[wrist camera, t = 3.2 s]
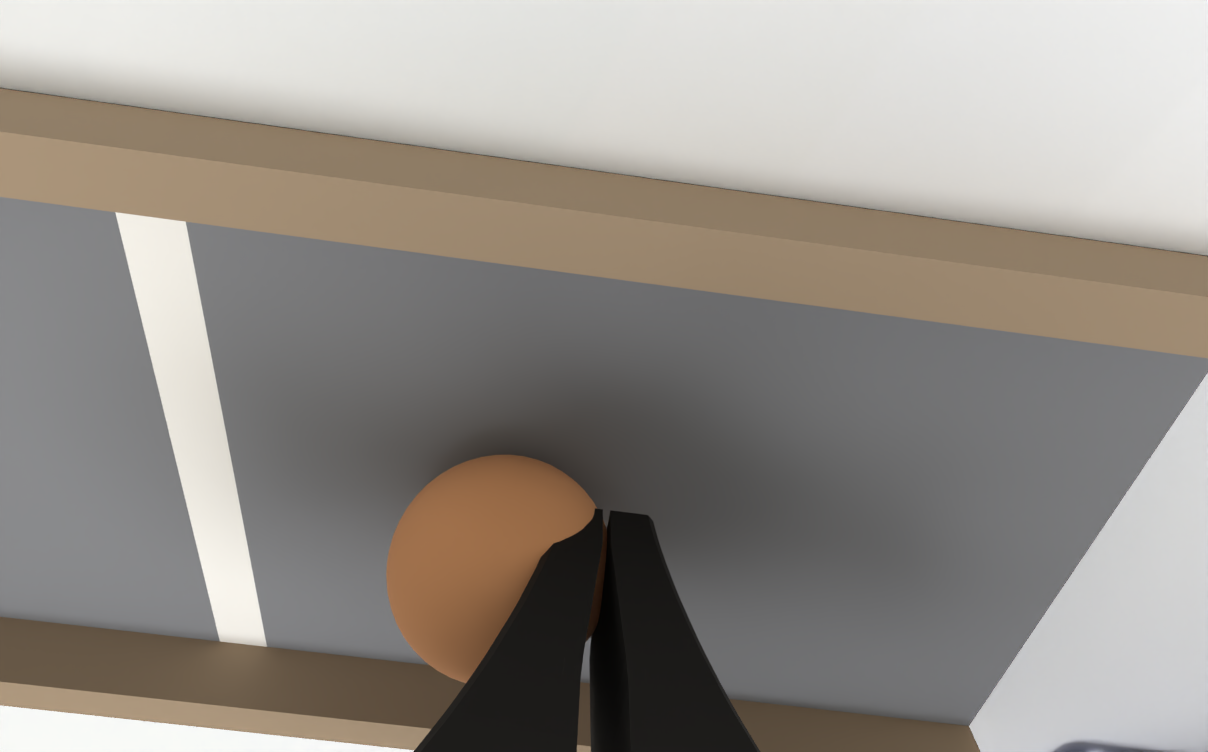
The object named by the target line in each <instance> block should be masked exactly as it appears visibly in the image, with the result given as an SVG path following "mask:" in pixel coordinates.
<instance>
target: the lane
mask: <svg viewBox="0 0 1208 752" xmlns="http://www.w3.org/2000/svg"><path fill="white" fill-rule="evenodd" d="M1207 373H1208V256H1202V255H1195V254H1188V253H1181V252H1173V251H1166V250H1159V249H1152V248H1145V247H1137V246H1130V245H1123V244H1116V243H1109V242H1102V241H1094V240H1087V239H1080V238H1073V237H1066V236H1058V235H1051V234H1044V233H1037V232H1030V231H1022V230H1015V229H1008V228H1001V227H994V226H986V225H979V224H972V223H965V222H958V221H951V220H943V219H936V218H929V217H922V216H915V215H907V214H900V213H893V212H886V211H879V210H871V209H864V208H857V207H850V206H843V205H836V204H828V203H821V202H814V201H807V200H800V199H792V198H785V197H778V196H771V195H764V194H756V193H749V192H742V191H735V190H728V189H721V188H713V187H706V186H699V185H692V184H685V183H677V182H670V181H663V180H656V179H649V178H641V177H634V176H627V175H620V174H613V173H606V172H598V171H591V170H584V169H577V168H570V167H562V166H555V165H548V164H541V163H534V162H526V161H519V160H512V159H505V158H498V157H491V156H483V155H476V154H469V153H462V152H455V151H447V150H440V149H433V148H426V147H419V146H411V145H404V144H397V143H390V142H383V141H375V140H368V139H361V138H354V137H347V136H340V135H332V134H325V133H318V132H311V131H304V130H296V129H289V128H282V127H275V126H268V125H260V124H253V123H246V122H239V121H232V120H225V119H217V118H210V117H203V116H196V115H189V114H181V113H174V112H167V111H160V110H153V109H145V108H138V107H131V106H124V105H117V104H110V103H102V102H95V101H88V100H81V99H74V98H66V97H59V96H52V95H45V94H38V93H30V92H23V91H16V90H9V89H2V88H0V705H3V706H12V707H21V708H31V709H40V710H49V711H58V712H68V713H77V714H86V715H95V716H104V717H114V718H123V719H132V720H141V721H151V722H160V723H169V724H178V725H187V726H197V727H206V728H215V729H224V730H234V731H243V732H252V733H261V734H270V735H280V736H289V737H298V738H307V739H317V740H326V741H335V742H344V743H354V744H363V745H372V746H381V747H390V748H400V749H409V750H415V749H416V748H417V747H418V745H419V744H420V743H421V742H422V740H423V739H424V738H425V737H426V735H427V734H428V733H429V732H430V730H431V729H432V728H433V726H434V725H435V724H436V723H437V721H438V720H439V719H440V718H441V716H442V715H443V714H444V713H445V711H446V710H447V709H448V707H449V706H450V705H451V703H452V702H453V700H454V699H455V698H456V696H457V695H458V694H459V692H460V691H461V690H462V688H463V687H464V685H465V684H466V683H463V682H461V681H458V680H455V679H452V678H450V677H448V676H446V675H444V674H443V673H441V672H439V671H437V670H436V669H434V668H433V667H432V666H430V665H429V664H428V663H426V662H425V661H424V660H423V659H422V658H421V657H420V656H419V655H418V654H417V653H416V652H415V651H414V650H413V649H412V647H411V646H410V645H409V643H408V642H407V641H406V639H405V638H404V637H403V635H402V633H401V631H400V629H399V627H398V626H397V624H396V621H395V618H394V616H393V613H392V610H391V607H390V602H389V597H388V593H387V579H386V569H387V559H388V553H389V549H390V545H391V541H392V538H393V535H394V532H395V530H396V528H397V525H398V523H399V521H400V519H401V517H402V516H403V514H404V512H405V511H406V509H407V507H408V506H409V504H410V503H411V502H412V501H413V499H414V498H415V497H416V496H417V494H418V493H419V492H420V491H421V490H422V489H423V488H424V487H425V486H426V485H427V484H428V483H430V482H431V481H432V480H434V479H435V478H436V477H437V476H439V475H440V474H442V473H443V472H445V471H447V470H449V469H450V468H452V467H454V466H456V465H459V464H461V463H463V462H466V461H469V460H472V459H476V458H479V457H484V456H491V455H517V456H525V457H529V458H533V459H537V460H540V461H542V462H545V463H547V464H550V465H552V466H553V467H555V468H557V469H559V470H561V471H562V472H564V473H565V474H566V475H568V476H569V477H570V478H572V479H573V480H574V481H576V482H577V483H578V484H579V485H580V486H581V487H582V488H583V489H584V490H585V491H586V493H587V494H588V495H589V497H590V498H591V499H592V500H593V502H594V503H595V505H596V507H597V509H603V521H604V523H605V526H606V528H607V526H608V521H609V515H610V510H612V511H620V512H628V513H636V514H644V515H648V516H649V517H650V518H651V519H652V520H653V522H654V526H655V530H656V533H657V537H658V540H659V543H660V546H661V550H662V553H663V555H664V558H665V561H666V564H667V567H668V569H669V572H670V574H671V577H672V580H673V582H674V585H675V587H676V590H677V592H678V595H679V597H680V600H681V602H682V604H683V606H684V609H685V611H686V613H687V615H688V618H689V620H690V622H691V624H692V626H693V629H694V631H695V633H696V635H697V638H698V640H699V642H700V644H701V646H702V648H703V650H704V652H705V654H706V656H707V658H708V660H709V662H710V664H711V666H712V668H713V670H714V672H715V673H716V675H717V677H718V679H719V681H720V683H721V685H722V687H723V689H724V690H725V692H726V694H727V696H728V698H729V700H730V701H731V703H732V705H733V707H734V708H735V710H736V712H737V714H738V715H739V717H740V719H741V721H742V722H743V724H744V726H745V727H746V729H747V730H748V732H749V734H750V735H751V737H752V739H753V740H754V742H755V744H756V745H757V747H758V749H759V750H760V752H980V750H979V748H978V745H977V743H976V741H975V739H974V737H973V734H972V732H971V730H970V728H969V725H970V723H971V722H972V720H973V719H974V717H975V716H976V714H977V713H978V711H979V710H980V709H981V707H982V706H983V704H984V703H985V701H986V700H987V698H988V697H989V695H990V694H991V692H992V691H993V689H994V688H995V686H996V685H997V683H998V682H999V680H1000V679H1001V677H1002V676H1003V674H1004V673H1005V672H1006V670H1007V669H1008V667H1009V666H1010V664H1011V663H1012V661H1013V660H1014V658H1015V657H1016V655H1017V654H1018V652H1019V651H1020V649H1021V648H1022V646H1023V645H1024V643H1025V642H1026V640H1027V639H1028V637H1029V636H1030V635H1031V633H1032V632H1033V630H1034V629H1035V627H1036V626H1037V624H1038V623H1039V621H1040V620H1041V618H1042V617H1043V615H1044V614H1045V612H1046V611H1047V609H1048V608H1049V606H1050V605H1051V603H1052V602H1053V600H1054V599H1055V598H1056V596H1057V595H1058V593H1059V592H1060V590H1061V589H1062V587H1063V586H1064V584H1065V583H1066V581H1067V580H1068V578H1069V577H1070V575H1071V574H1072V572H1073V571H1074V569H1075V568H1076V566H1077V565H1078V563H1079V562H1080V561H1081V559H1082V558H1083V556H1084V555H1085V553H1086V552H1087V550H1088V549H1089V547H1090V546H1091V544H1092V543H1093V541H1094V540H1095V538H1096V537H1097V535H1098V534H1099V532H1100V531H1101V529H1102V528H1103V526H1104V525H1105V523H1106V522H1107V521H1108V519H1109V518H1110V516H1111V515H1112V513H1113V512H1114V510H1115V509H1116V507H1117V506H1118V504H1119V503H1120V501H1121V500H1122V498H1123V497H1124V495H1125V494H1126V492H1127V491H1128V489H1129V488H1130V486H1131V485H1132V484H1133V482H1134V481H1135V479H1136V478H1137V476H1138V475H1139V473H1140V472H1141V470H1142V469H1143V467H1144V466H1145V464H1146V463H1147V461H1148V460H1149V458H1150V457H1151V455H1152V454H1153V452H1154V451H1155V449H1156V448H1157V447H1158V445H1159V444H1160V442H1161V441H1162V439H1163V438H1164V436H1165V435H1166V433H1167V432H1168V430H1169V429H1170V427H1171V426H1172V424H1173V423H1174V421H1175V420H1176V418H1177V417H1178V415H1179V414H1180V412H1181V411H1182V410H1183V408H1184V407H1185V405H1186V404H1187V402H1188V401H1189V399H1190V398H1191V396H1192V395H1193V393H1194V392H1195V390H1196V389H1197V387H1198V386H1199V384H1200V383H1201V381H1202V380H1203V378H1204V377H1205V375H1206V374H1207ZM590 644H591V637H590V638H589V639H588V640H587V642H586V643H585V648H584V654H583V663H582V671H581V681H580V699H579V718H578V737H577V752H591V734H590V672H589V657H590Z"/></svg>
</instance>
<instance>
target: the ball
mask: <svg viewBox="0 0 1208 752" xmlns="http://www.w3.org/2000/svg"><path fill="white" fill-rule="evenodd" d="M595 508H596V509H597V507H596V505H595V503H594V502H593V500H592V499H591V498H590V497H589V495H588V494H587V493H586V491H585V490H584V489H583V488H582V487H581V486H580V485H579V484H578V483H577V482H576V481H574V480H573V479H572V478H570V477H569V476H568V475H566V474H565V473H564V472H562V471H561V470H559V469H557V468H555V467H553V466H552V465H550V464H547V463H545V462H542V461H540V460H537V459H533V458H529V457H525V456H517V455H491V456H484V457H479V458H476V459H472V460H469V461H466V462H463V463H461V464H459V465H456V466H454V467H452V468H450V469H449V470H447V471H445V472H443V473H442V474H440V475H439V476H437V477H436V478H435V479H434V480H432V481H431V482H430V483H428V484H427V485H426V486H425V487H424V488H423V489H422V490H421V491H420V492H419V493H418V494H417V496H416V497H415V498H414V499H413V501H412V502H411V503H410V504H409V506H408V507H407V509H406V511H405V512H404V514H403V516H402V517H401V519H400V521H399V523H398V525H397V528H396V530H395V532H394V535H393V538H392V541H391V545H390V549H389V553H388V559H387V569H386V579H387V593H388V597H389V602H390V607H391V610H392V613H393V616H394V618H395V621H396V624H397V626H398V627H399V629H400V631H401V633H402V635H403V637H404V638H405V639H406V641H407V642H408V643H409V645H410V646H411V647H412V649H413V650H414V651H415V652H416V653H417V654H418V655H419V656H420V657H421V658H422V659H423V660H424V661H425V662H426V663H428V664H429V665H430V666H432V667H433V668H434V669H436V670H437V671H439V672H441V673H443V674H444V675H446V676H448V677H450V678H452V679H455V680H458V681H461V682H463V683H467V681H468V680H469V678H470V677H471V675H472V674H473V673H474V671H475V670H476V668H477V667H478V665H479V664H480V662H481V661H482V659H483V658H484V656H485V655H486V653H487V652H488V650H489V649H490V647H491V645H492V644H493V642H494V641H495V639H496V637H497V636H498V634H499V633H500V631H501V629H502V628H503V626H504V624H505V623H506V621H507V620H508V618H509V616H510V615H511V613H512V611H513V610H514V608H515V606H516V605H517V603H518V601H519V599H520V597H521V595H522V593H523V591H524V590H525V588H526V586H527V584H528V582H529V580H530V578H531V576H532V574H533V573H534V571H535V569H536V567H537V564H538V562H539V560H540V558H541V556H542V555H543V554H544V553H545V552H546V551H547V550H548V549H549V548H550V547H551V546H552V544H553V543H556V542H559V541H562V540H564V539H566V538H568V537H570V536H572V535H574V534H576V533H578V532H579V531H581V530H582V529H583V528H584V527H585V526H586V525H587V524H588V523H589V522H590V521H591V520H592V518H593V515H594V511H595ZM606 551H607V528H606V526H605V523H604V521H603V544H602V550H601V556H600V562H599V567H598V573H597V579H596V585H595V590H594V596H593V602H592V607H591V613H590V619H589V625H588V630H587V636H586V642H587V640H588V639H589V638H590V637H591V635H592V634H593V632H594V630H595V629H596V627H597V624H598V620H599V615H600V609H601V601H602V592H603V582H604V573H605V563H606ZM586 642H585V643H586Z"/></svg>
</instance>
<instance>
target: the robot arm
mask: <svg viewBox="0 0 1208 752" xmlns="http://www.w3.org/2000/svg"><path fill="white" fill-rule="evenodd" d="M602 544H603V509H596V508H595V511H594V515H593V518H592V520H591V521H590V522H589V523H588V524H587V525H586V526H585V527H584V528H583V529H582V530H581V531H579V532H578V533H576V534H574V535H572V536H570V537H568V538H566V539H564V540H562V541H559V542H556V543H553V544H552V546H551V547H550V548H549V549H548V550H547V551H546V552H545V553H544V554H543V555H542V556H541V558H540V560H539V562H538V564H537V567H536V569H535V571H534V573H533V574H532V576H531V578H530V580H529V582H528V584H527V586H526V588H525V590H524V591H523V593H522V595H521V597H520V599H519V601H518V603H517V605H516V606H515V608H514V610H513V611H512V613H511V615H510V616H509V618H508V620H507V621H506V623H505V624H504V626H503V628H502V629H501V631H500V633H499V634H498V636H497V637H496V639H495V641H494V642H493V644H492V645H491V647H490V649H489V650H488V652H487V653H486V655H485V656H484V658H483V659H482V661H481V662H480V664H479V665H478V667H477V668H476V670H475V671H474V673H473V674H472V675H471V677H470V678H469V680H468V681H467V683H466V684H465V685H464V687H463V688H462V690H461V691H460V692H459V694H458V695H457V696H456V698H455V699H454V700H453V702H452V703H451V705H450V706H449V707H448V709H447V710H446V711H445V713H444V714H443V715H442V716H441V718H440V719H439V720H438V721H437V723H436V724H435V725H434V726H433V728H432V729H431V730H430V732H429V733H428V734H427V735H426V737H425V738H424V739H423V740H422V742H421V743H420V744H419V745H418V747H417V748H416V749H415V750H414V752H577V737H578V718H579V699H580V681H581V671H582V663H583V654H584V648H585V642H586V636H587V630H588V625H589V619H590V613H591V607H592V602H593V596H594V590H595V585H596V579H597V573H598V567H599V562H600V556H601V550H602ZM589 672H590V734H591V752H760V750H759V749H758V747H757V745H756V744H755V742H754V740H753V739H752V737H751V735H750V734H749V732H748V730H747V729H746V727H745V726H744V724H743V722H742V721H741V719H740V717H739V715H738V714H737V712H736V710H735V708H734V707H733V705H732V703H731V701H730V700H729V698H728V696H727V694H726V692H725V690H724V689H723V687H722V685H721V683H720V681H719V679H718V677H717V675H716V673H715V672H714V670H713V668H712V666H711V664H710V662H709V660H708V658H707V656H706V654H705V652H704V650H703V648H702V646H701V644H700V642H699V640H698V638H697V635H696V633H695V631H694V629H693V626H692V624H691V622H690V620H689V618H688V615H687V613H686V611H685V609H684V606H683V604H682V602H681V600H680V597H679V595H678V592H677V590H676V587H675V585H674V582H673V580H672V577H671V574H670V572H669V569H668V567H667V564H666V561H665V558H664V555H663V553H662V550H661V546H660V543H659V540H658V537H657V533H656V530H655V526H654V522H653V520H652V519H651V518H650V517H649V516H648V515H644V514H636V513H628V512H620V511H612V510H610V515H609V521H608V526H607V551H606V563H605V573H604V582H603V592H602V601H601V609H600V615H599V620H598V624H597V627H596V629H595V630H594V632H593V634H592V635H591V644H590V657H589Z"/></svg>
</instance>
